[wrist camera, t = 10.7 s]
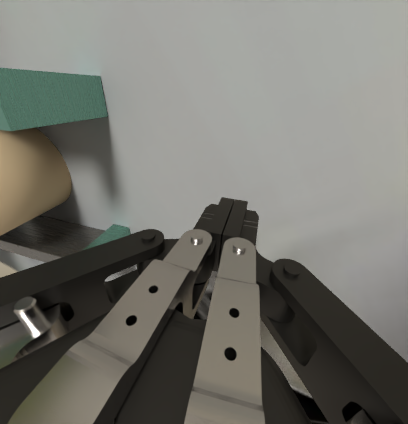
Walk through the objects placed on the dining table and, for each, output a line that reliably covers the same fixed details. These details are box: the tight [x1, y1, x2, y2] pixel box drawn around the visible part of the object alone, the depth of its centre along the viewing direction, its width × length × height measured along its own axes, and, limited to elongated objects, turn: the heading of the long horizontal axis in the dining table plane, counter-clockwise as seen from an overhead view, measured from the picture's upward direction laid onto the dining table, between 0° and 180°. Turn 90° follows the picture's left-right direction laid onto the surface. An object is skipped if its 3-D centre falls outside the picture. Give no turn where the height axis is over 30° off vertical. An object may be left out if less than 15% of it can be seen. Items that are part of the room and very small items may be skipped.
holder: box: [0, 68, 130, 262], centre depth 15 cm, size 16×13×6 cm
